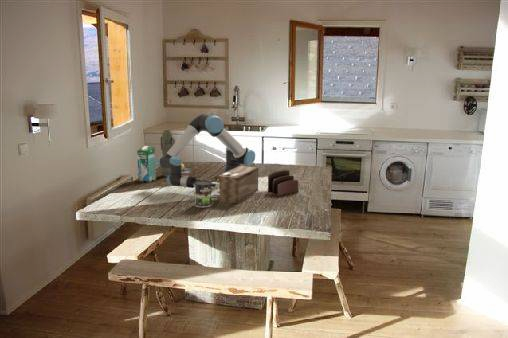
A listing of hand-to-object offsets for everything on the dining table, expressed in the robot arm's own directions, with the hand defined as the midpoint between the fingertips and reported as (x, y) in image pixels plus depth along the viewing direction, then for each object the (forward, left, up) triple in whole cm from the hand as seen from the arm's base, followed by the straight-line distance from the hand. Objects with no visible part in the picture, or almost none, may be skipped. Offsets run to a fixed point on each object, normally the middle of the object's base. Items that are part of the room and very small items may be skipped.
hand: (220, 185), depth 297 cm
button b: (-9, -4, -2) cm, 10 cm away
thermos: (-8, -74, -8) cm, 75 cm away
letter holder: (-41, +17, -8) cm, 45 cm away
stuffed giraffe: (-24, -83, -9) cm, 87 cm away
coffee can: (+18, +6, -8) cm, 21 cm away
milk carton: (+12, -72, -8) cm, 73 cm away
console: (-13, +3, -8) cm, 15 cm away
